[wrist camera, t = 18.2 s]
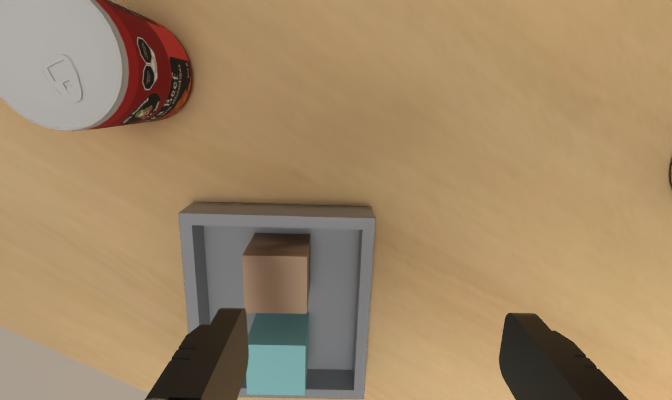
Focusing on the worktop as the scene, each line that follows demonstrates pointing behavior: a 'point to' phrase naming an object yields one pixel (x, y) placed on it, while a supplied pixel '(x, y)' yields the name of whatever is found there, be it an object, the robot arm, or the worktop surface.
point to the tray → (325, 280)
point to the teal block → (278, 354)
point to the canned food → (88, 64)
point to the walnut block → (277, 273)
